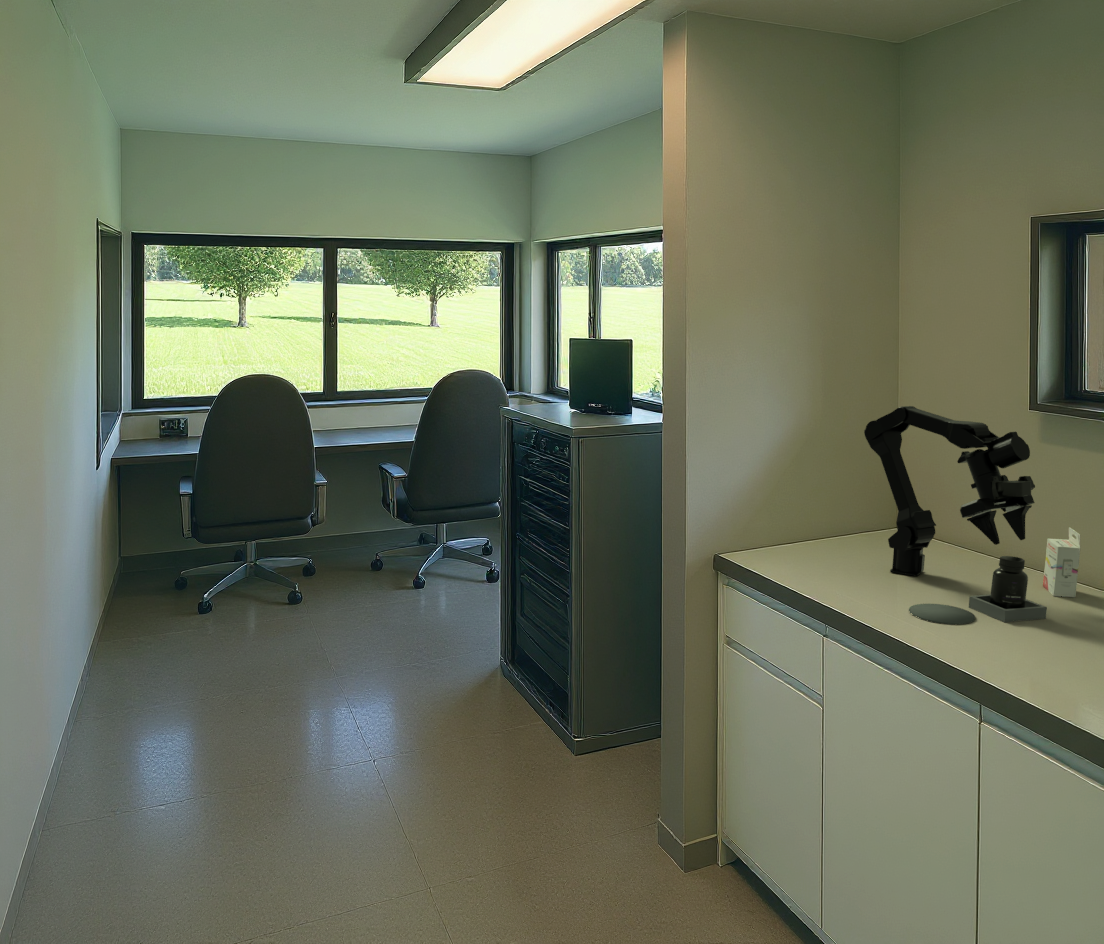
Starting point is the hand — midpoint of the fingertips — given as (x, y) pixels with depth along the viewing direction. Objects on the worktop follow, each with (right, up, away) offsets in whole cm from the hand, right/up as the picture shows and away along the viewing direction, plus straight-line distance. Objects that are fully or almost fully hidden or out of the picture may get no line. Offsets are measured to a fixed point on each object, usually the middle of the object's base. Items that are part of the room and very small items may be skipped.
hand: (1010, 542), depth 210 cm
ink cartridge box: (+16, -12, +10) cm, 22 cm away
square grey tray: (-4, -15, -7) cm, 17 cm away
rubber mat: (-19, -15, -9) cm, 26 cm away
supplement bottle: (-4, -15, -7) cm, 17 cm away
